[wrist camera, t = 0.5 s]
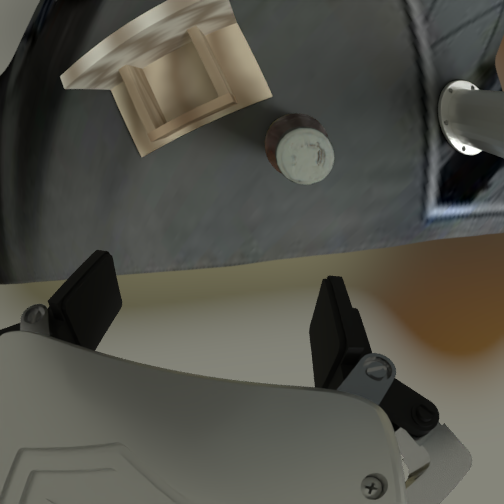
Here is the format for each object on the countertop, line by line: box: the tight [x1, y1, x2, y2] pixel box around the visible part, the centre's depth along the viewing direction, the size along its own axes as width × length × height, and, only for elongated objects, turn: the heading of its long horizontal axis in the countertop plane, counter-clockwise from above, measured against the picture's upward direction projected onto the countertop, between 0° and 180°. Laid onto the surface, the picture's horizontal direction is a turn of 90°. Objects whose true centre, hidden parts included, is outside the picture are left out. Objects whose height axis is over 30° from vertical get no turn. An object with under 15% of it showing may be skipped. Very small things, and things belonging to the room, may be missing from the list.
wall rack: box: [60, 0, 273, 157], centre depth 26 cm, size 20×14×12 cm
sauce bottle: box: [265, 113, 335, 185], centre depth 26 cm, size 6×6×20 cm
